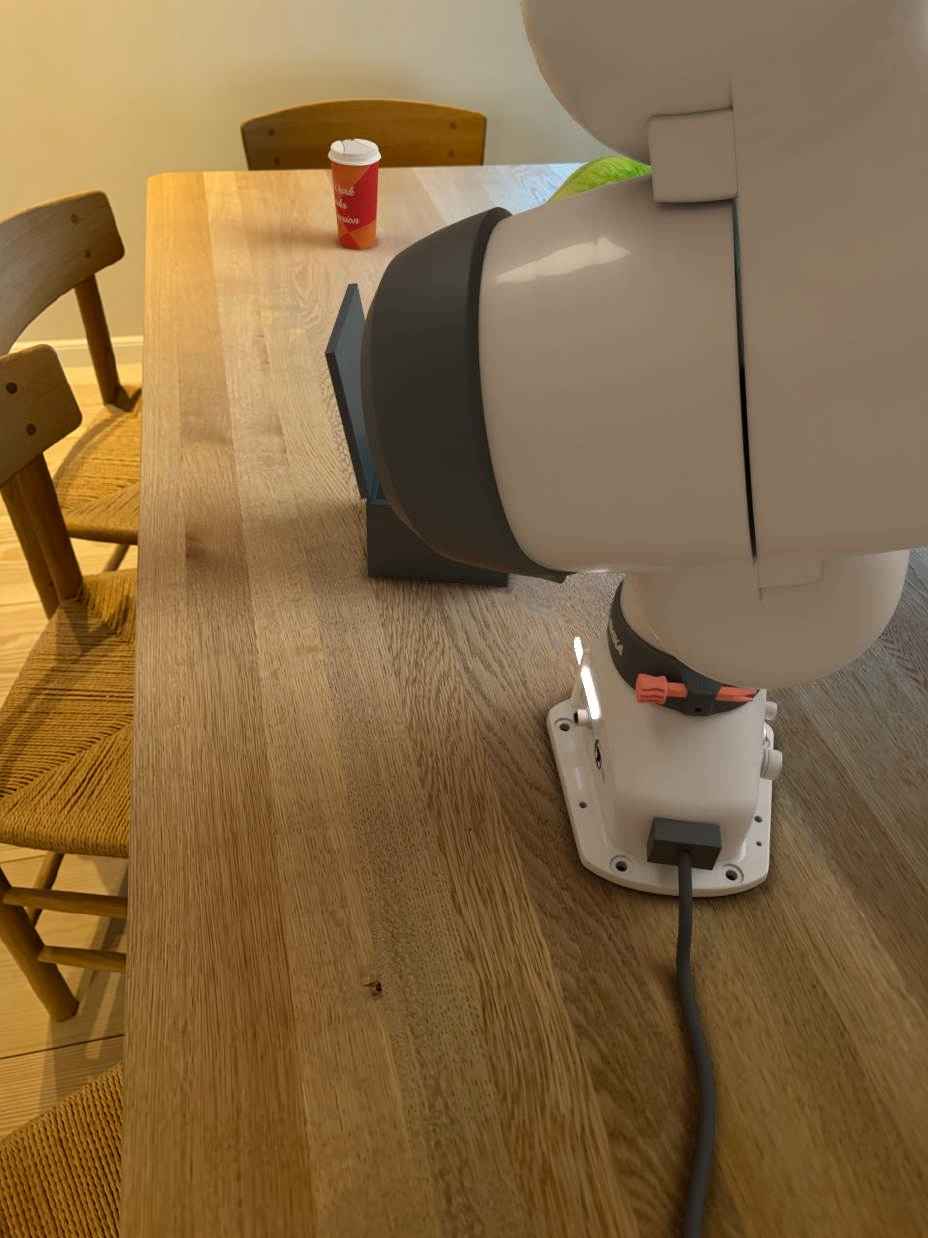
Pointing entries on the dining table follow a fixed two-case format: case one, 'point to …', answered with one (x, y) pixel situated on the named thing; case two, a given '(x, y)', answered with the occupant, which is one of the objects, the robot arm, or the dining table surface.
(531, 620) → the dining table surface
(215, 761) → the dining table surface
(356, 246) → the paper cup
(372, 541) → the chest
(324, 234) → the dining table surface
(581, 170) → the lettuce
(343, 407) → the chest lid
